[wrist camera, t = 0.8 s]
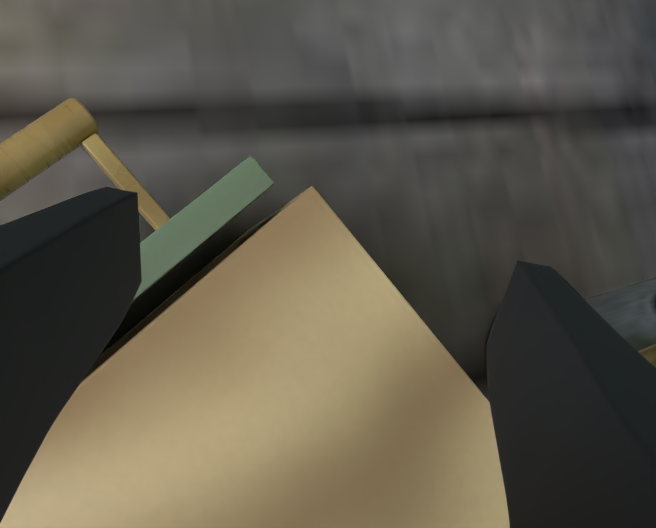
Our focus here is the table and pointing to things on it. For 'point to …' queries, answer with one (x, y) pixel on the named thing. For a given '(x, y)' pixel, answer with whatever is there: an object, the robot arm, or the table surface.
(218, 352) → the cabinet
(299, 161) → the table surface
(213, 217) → the drawer
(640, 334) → the beer glass
